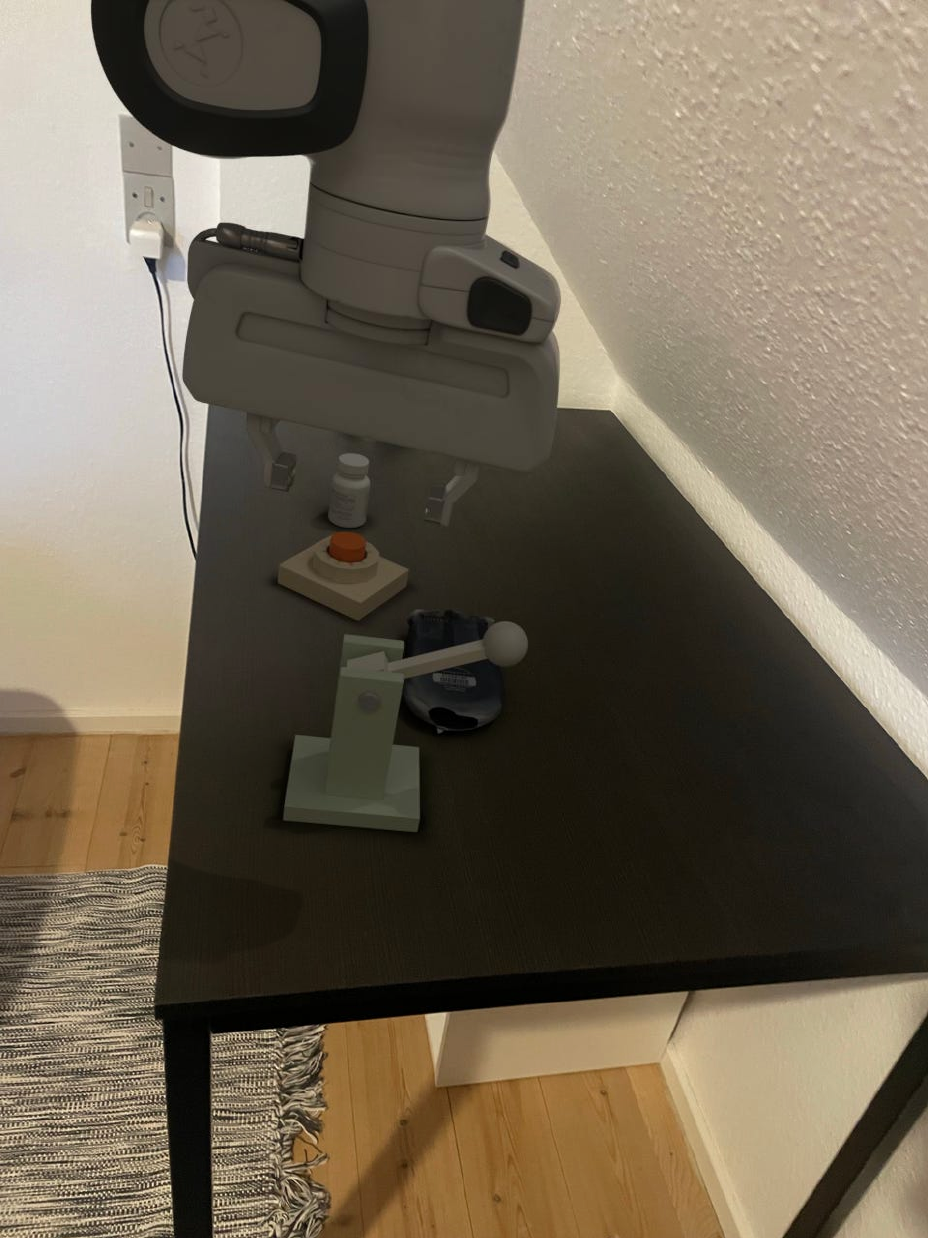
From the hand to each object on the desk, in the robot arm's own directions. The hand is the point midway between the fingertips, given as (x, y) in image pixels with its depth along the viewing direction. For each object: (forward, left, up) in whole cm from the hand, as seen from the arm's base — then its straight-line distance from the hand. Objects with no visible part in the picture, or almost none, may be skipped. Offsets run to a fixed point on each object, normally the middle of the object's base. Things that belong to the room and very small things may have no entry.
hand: (357, 503), depth 55 cm
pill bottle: (-26, +41, -27) cm, 56 cm away
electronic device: (-1, +22, -27) cm, 35 cm away
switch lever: (+4, +8, -15) cm, 18 cm away
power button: (-18, +29, -23) cm, 42 cm away
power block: (-18, +29, -27) cm, 44 cm away
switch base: (0, +5, -27) cm, 28 cm away
